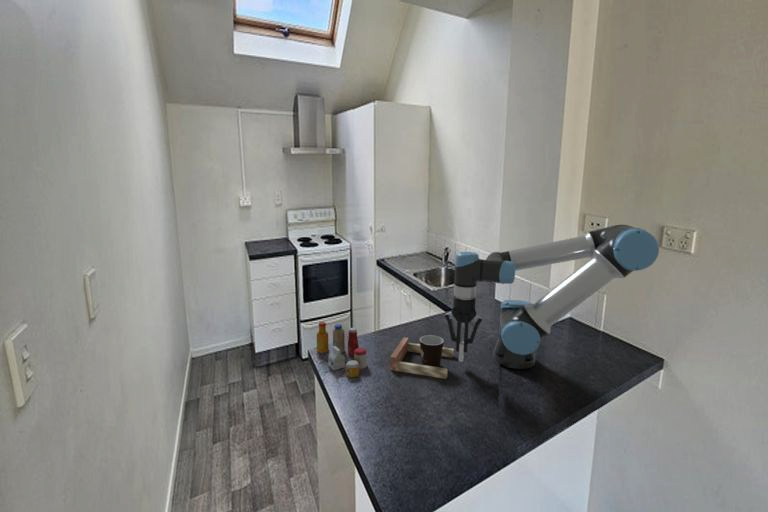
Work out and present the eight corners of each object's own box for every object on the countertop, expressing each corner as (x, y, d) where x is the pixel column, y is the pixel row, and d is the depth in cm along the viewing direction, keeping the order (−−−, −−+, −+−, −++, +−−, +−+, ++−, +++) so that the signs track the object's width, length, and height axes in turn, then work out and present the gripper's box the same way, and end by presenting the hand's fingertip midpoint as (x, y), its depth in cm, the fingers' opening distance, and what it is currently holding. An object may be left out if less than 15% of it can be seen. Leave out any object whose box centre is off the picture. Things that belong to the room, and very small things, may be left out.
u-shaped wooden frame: (453, 355, 143) (454, 343, 142) (446, 378, 126) (447, 365, 125) (403, 348, 149) (403, 337, 148) (390, 369, 132) (390, 356, 131)
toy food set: (314, 351, 147) (313, 322, 145) (343, 344, 154) (342, 316, 152) (344, 380, 125) (343, 347, 123) (376, 371, 132) (376, 339, 130)
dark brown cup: (442, 372, 130) (443, 346, 128) (417, 370, 132) (418, 344, 130) (443, 357, 142) (444, 333, 140) (421, 355, 143) (421, 331, 141)
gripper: (484, 295, 130) (480, 358, 135) (447, 291, 134) (444, 352, 138) (483, 301, 123) (479, 367, 127) (444, 297, 127) (441, 361, 131)
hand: (461, 359), depth 133 cm, fingers closed
